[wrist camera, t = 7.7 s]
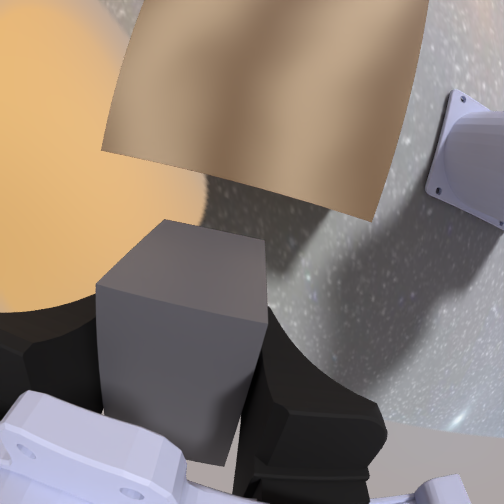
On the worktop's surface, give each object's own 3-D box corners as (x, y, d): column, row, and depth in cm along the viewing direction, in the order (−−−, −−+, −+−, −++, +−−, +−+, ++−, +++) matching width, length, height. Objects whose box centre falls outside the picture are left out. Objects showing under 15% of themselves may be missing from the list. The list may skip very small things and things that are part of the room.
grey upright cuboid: (264, 240, 13) (268, 323, 7) (235, 360, 15) (224, 466, 9) (164, 219, 12) (95, 284, 7) (152, 342, 14) (108, 438, 9)
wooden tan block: (423, -11, 11) (431, -17, 10) (365, 217, 15) (371, 222, 14) (187, -73, 10) (184, -82, 9) (110, 149, 15) (101, 150, 14)
